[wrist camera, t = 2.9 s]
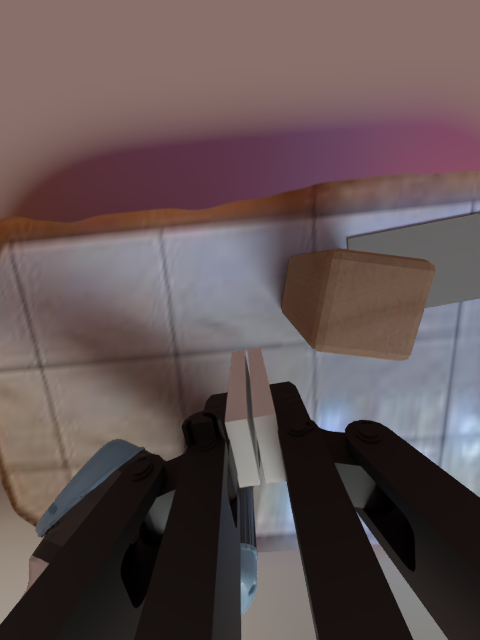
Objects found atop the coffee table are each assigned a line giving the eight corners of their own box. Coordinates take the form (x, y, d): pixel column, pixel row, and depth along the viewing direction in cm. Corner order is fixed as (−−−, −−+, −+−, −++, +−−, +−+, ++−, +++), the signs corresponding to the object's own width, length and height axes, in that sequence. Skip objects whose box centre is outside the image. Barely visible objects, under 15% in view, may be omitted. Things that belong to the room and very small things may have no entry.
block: (288, 254, 40) (332, 246, 21) (347, 262, 41) (444, 260, 21) (279, 312, 43) (311, 353, 23) (334, 319, 43) (412, 365, 23)
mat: (353, 320, 43) (354, 320, 43) (346, 238, 40) (347, 238, 39) (492, 295, 42) (494, 295, 41) (496, 209, 39) (498, 209, 38)
